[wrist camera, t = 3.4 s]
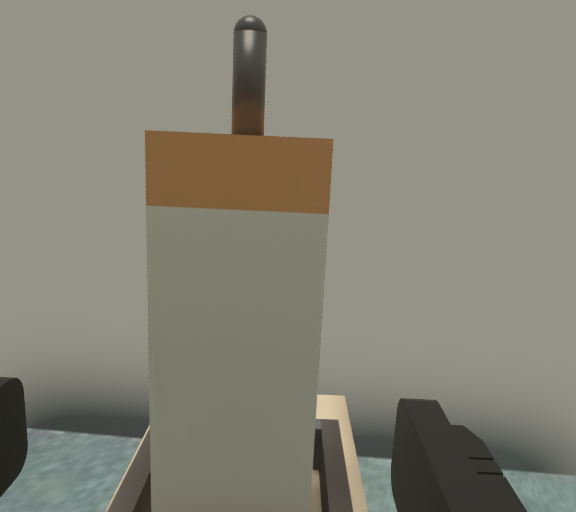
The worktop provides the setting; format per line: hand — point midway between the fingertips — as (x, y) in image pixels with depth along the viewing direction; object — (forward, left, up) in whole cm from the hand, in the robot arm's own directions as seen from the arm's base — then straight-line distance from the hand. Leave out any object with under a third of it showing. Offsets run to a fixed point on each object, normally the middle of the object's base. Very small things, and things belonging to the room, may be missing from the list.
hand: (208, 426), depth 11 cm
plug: (0, +7, -8) cm, 10 cm away
